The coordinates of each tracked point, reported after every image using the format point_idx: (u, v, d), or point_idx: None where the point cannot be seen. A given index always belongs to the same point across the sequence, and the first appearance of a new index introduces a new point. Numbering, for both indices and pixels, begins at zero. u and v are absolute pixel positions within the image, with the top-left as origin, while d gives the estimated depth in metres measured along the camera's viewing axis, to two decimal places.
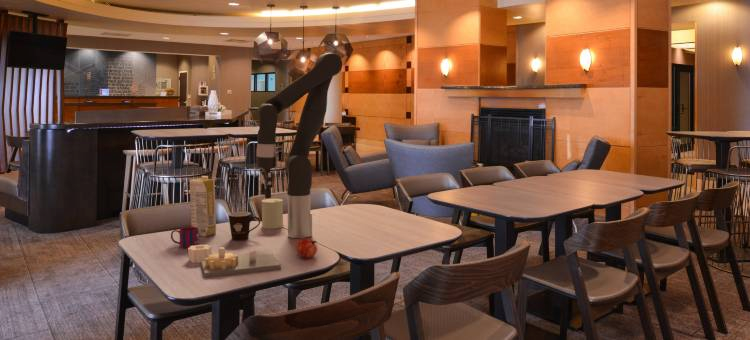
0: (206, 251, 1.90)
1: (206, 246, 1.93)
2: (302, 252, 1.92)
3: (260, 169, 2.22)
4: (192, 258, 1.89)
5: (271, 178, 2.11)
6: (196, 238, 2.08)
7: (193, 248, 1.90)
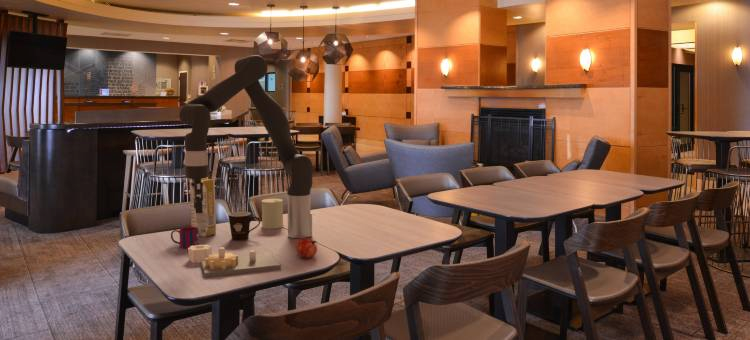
0: (206, 251, 1.90)
1: (206, 246, 1.93)
2: (302, 252, 1.92)
3: (192, 179, 1.94)
4: (192, 258, 1.89)
5: (201, 190, 1.83)
6: (196, 238, 2.08)
7: (193, 248, 1.90)
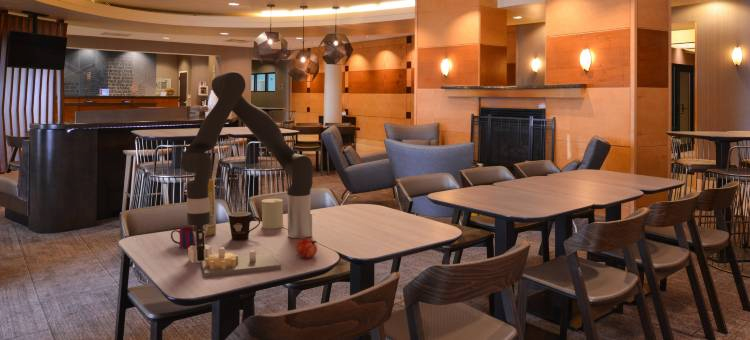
0: (206, 251, 1.90)
1: (206, 246, 1.93)
2: (302, 252, 1.92)
3: (194, 226, 1.96)
4: (192, 258, 1.89)
5: (203, 239, 1.85)
6: None
7: (193, 248, 1.90)
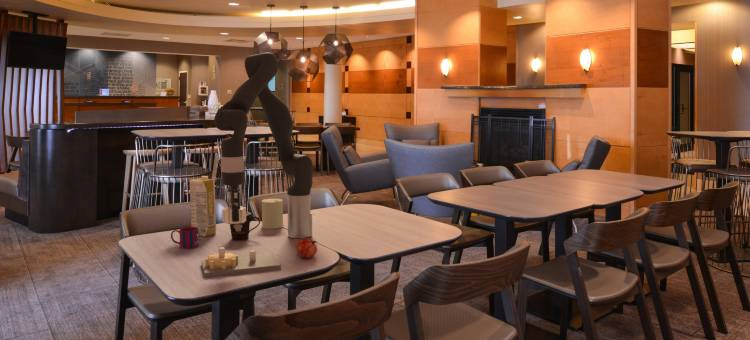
0: (241, 212, 1.84)
1: (240, 207, 1.86)
2: (302, 252, 1.92)
3: (228, 187, 1.90)
4: (226, 219, 1.83)
5: (238, 199, 1.79)
6: (196, 238, 2.08)
7: (227, 209, 1.84)
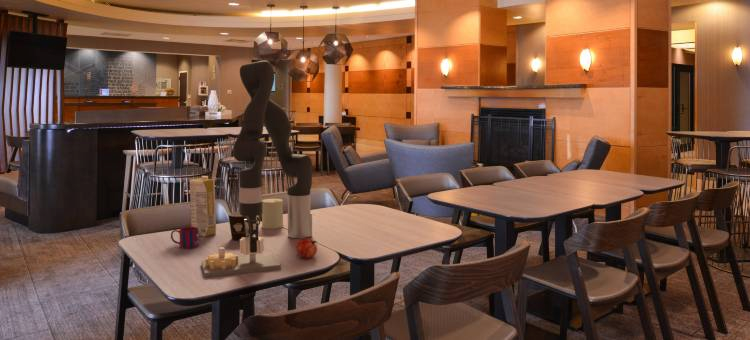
0: (258, 243, 1.83)
1: None
2: (302, 252, 1.92)
3: (245, 217, 1.89)
4: (244, 250, 1.82)
5: (256, 230, 1.78)
6: (196, 238, 2.08)
7: (245, 239, 1.83)
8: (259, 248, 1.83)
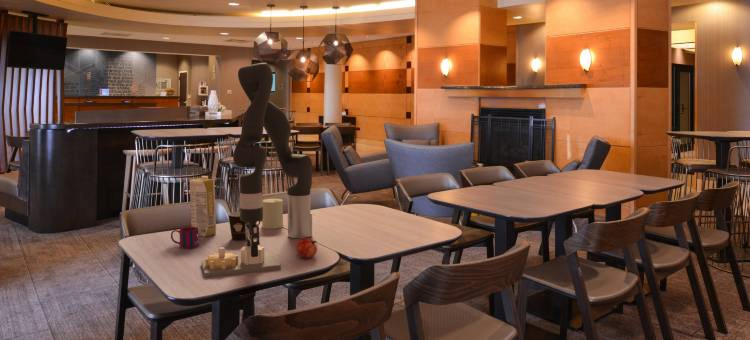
0: (259, 252, 1.83)
1: (259, 247, 1.86)
2: (302, 252, 1.92)
3: None
4: (245, 260, 1.82)
5: (257, 234, 1.78)
6: (196, 238, 2.08)
7: (246, 249, 1.84)
8: (260, 258, 1.84)
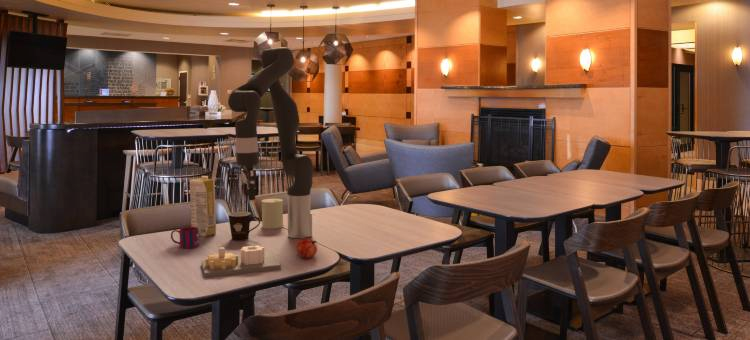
0: (259, 252, 1.83)
1: (259, 247, 1.86)
2: (302, 252, 1.92)
3: (241, 166, 1.93)
4: (245, 260, 1.82)
5: (254, 177, 1.82)
6: (196, 238, 2.08)
7: (246, 249, 1.84)
8: (260, 258, 1.84)
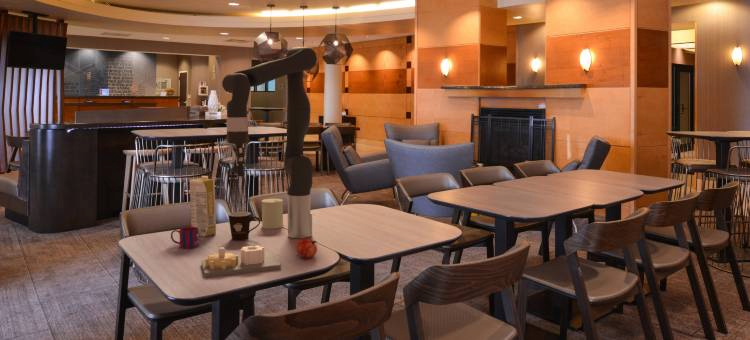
0: (259, 252, 1.83)
1: (259, 247, 1.86)
2: (302, 252, 1.92)
3: (232, 145, 2.05)
4: (245, 260, 1.82)
5: (243, 154, 1.94)
6: (196, 238, 2.08)
7: (246, 249, 1.84)
8: (260, 258, 1.84)
